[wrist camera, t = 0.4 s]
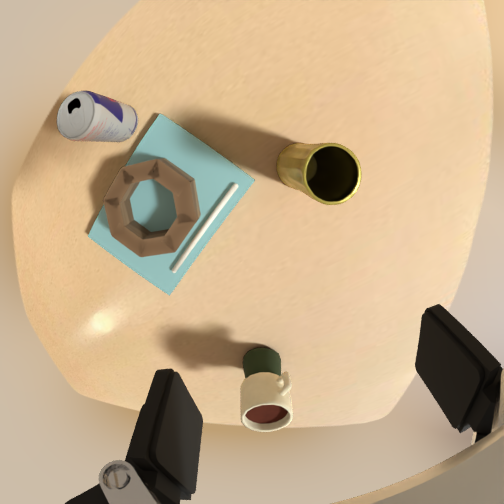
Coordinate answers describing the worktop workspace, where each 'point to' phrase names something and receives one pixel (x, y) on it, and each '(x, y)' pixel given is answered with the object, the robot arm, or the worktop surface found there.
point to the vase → (320, 171)
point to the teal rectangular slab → (163, 207)
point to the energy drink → (95, 118)
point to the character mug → (265, 392)
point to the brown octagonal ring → (122, 214)
